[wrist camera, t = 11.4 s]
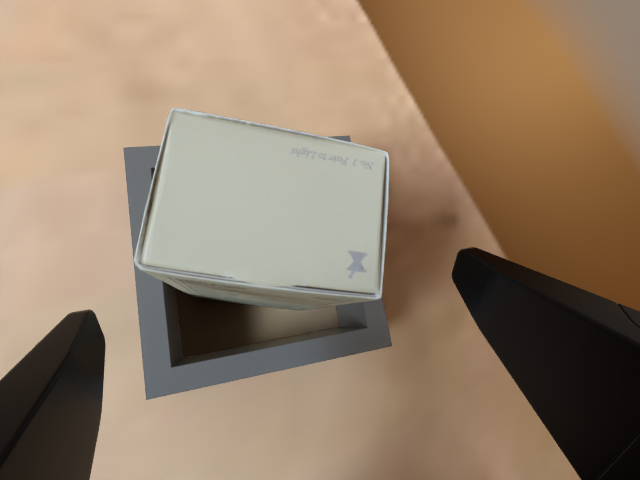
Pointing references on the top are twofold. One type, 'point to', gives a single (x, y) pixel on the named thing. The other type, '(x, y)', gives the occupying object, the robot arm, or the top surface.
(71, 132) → the top surface
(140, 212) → the gray rectangular frame
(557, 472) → the top surface
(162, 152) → the skincare box
